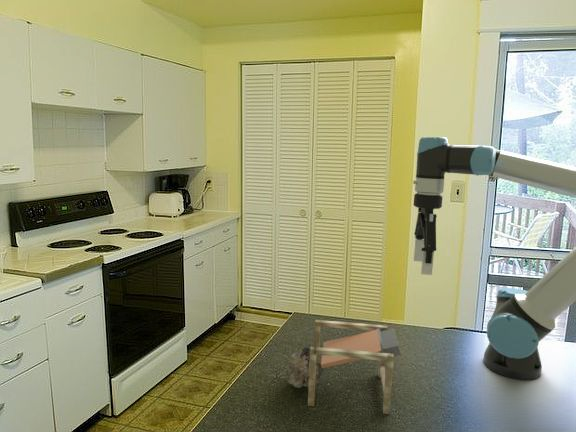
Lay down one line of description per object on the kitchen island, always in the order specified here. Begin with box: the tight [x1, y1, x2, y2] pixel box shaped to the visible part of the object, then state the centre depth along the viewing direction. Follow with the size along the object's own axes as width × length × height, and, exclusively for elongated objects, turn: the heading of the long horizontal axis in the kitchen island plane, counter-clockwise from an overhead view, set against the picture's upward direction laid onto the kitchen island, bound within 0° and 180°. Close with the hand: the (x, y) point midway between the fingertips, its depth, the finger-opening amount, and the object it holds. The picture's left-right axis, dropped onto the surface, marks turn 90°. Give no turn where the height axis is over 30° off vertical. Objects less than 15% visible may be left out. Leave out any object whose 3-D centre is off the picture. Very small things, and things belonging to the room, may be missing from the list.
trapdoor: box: [320, 328, 402, 369], centre depth 113 cm, size 19×14×3 cm
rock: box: [285, 347, 326, 389], centre depth 113 cm, size 9×12×10 cm
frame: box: [307, 319, 395, 415], centre depth 114 cm, size 20×18×15 cm
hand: (422, 267), depth 126 cm, fingers open, 13 cm apart
